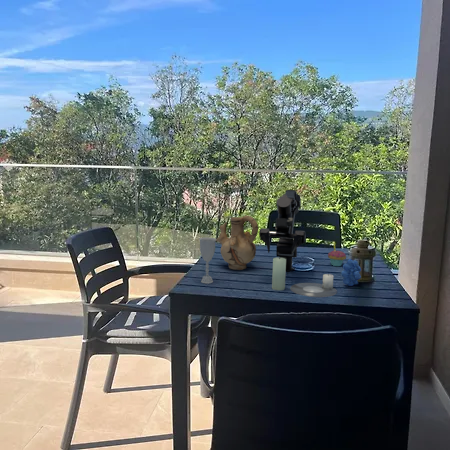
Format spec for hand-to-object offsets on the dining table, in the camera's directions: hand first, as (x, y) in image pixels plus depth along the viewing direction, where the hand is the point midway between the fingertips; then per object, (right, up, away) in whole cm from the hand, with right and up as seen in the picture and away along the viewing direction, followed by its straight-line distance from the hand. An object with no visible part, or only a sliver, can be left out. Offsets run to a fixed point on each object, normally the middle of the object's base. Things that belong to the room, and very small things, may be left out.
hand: (280, 253), depth 184 cm
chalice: (-30, -12, +5) cm, 32 cm away
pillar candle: (-1, -15, -6) cm, 16 cm away
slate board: (+12, -15, -6) cm, 20 cm away
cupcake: (+32, -8, +37) cm, 49 cm away
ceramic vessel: (-17, -8, +29) cm, 35 cm away
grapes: (+29, -14, +1) cm, 33 cm away
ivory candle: (+18, -13, -4) cm, 23 cm away
